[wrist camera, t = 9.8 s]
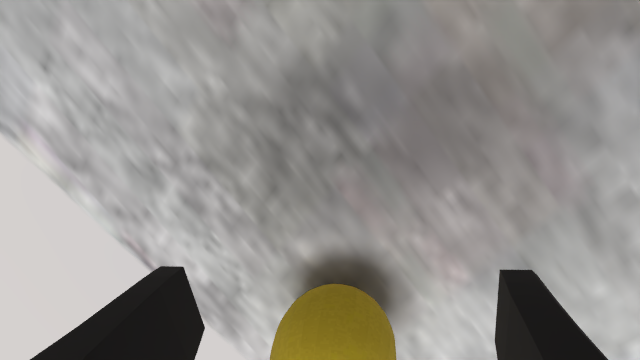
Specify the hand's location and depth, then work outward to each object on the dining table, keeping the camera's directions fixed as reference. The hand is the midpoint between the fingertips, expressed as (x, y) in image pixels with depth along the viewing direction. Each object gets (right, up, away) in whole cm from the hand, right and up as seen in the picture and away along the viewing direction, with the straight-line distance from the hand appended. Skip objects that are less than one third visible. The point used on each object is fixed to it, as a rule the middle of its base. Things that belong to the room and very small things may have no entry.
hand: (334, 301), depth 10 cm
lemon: (+1, -3, +13) cm, 14 cm away
